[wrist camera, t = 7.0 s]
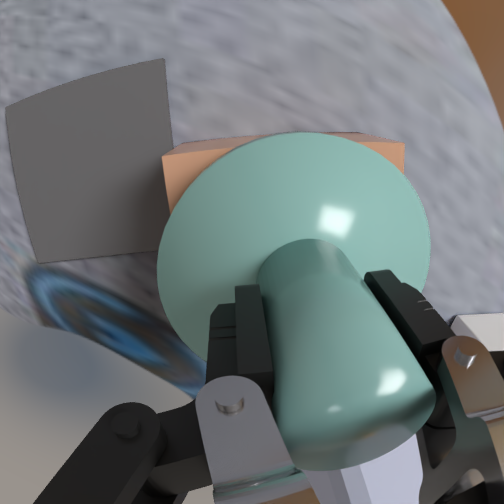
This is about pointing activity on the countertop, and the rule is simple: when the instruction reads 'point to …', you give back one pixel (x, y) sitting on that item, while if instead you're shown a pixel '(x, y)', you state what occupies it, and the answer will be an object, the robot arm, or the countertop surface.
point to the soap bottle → (373, 479)
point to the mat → (94, 163)
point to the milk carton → (482, 329)
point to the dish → (207, 151)
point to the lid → (308, 285)
